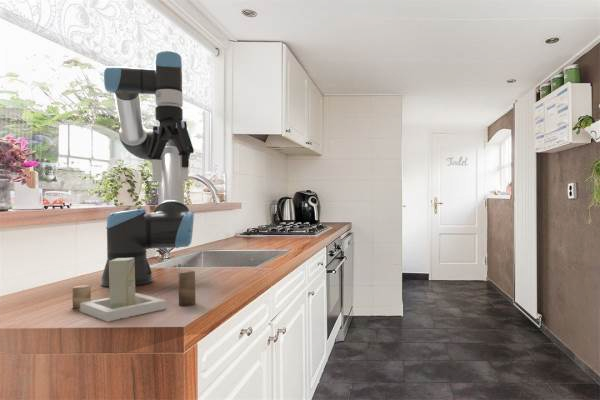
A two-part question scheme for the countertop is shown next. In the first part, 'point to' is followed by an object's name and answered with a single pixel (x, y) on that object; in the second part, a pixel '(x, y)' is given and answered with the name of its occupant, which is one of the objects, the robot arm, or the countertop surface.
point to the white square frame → (106, 313)
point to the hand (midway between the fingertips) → (169, 180)
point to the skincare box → (122, 282)
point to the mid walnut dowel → (186, 288)
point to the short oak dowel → (81, 295)
